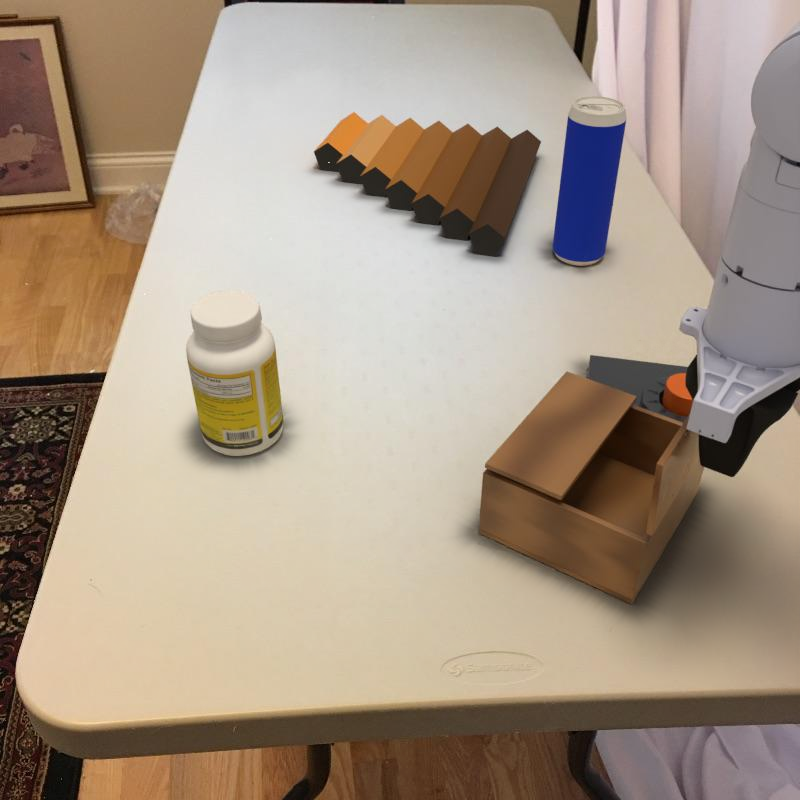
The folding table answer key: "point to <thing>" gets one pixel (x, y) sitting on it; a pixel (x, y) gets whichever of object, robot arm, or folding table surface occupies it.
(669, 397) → the button
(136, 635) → the folding table surface
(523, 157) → the pan flute
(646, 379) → the control box
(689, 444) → the flap
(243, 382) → the pill bottle
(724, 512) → the folding table surface
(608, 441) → the carton
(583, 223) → the beverage can
